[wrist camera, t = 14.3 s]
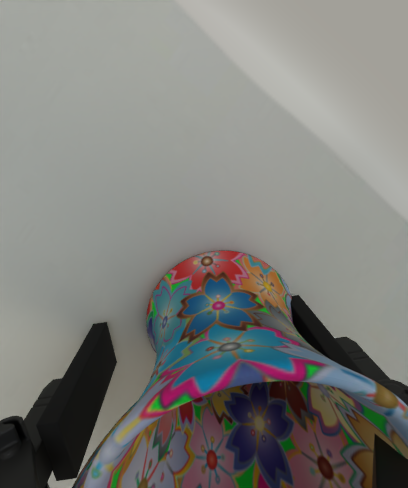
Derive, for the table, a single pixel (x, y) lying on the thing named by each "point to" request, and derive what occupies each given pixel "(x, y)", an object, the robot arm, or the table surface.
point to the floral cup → (242, 394)
